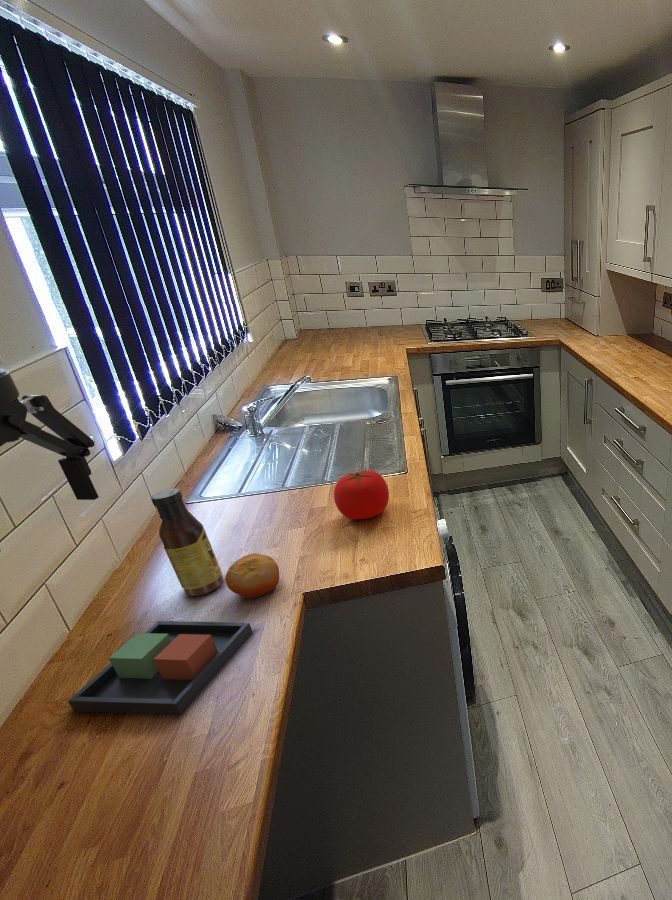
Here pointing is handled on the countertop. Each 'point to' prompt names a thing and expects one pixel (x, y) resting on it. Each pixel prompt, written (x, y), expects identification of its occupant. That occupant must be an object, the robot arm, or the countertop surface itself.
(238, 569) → the fruit
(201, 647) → the reddish brown block
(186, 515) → the sauce bottle
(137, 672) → the green block
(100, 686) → the tray
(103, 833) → the countertop surface
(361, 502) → the tomato
